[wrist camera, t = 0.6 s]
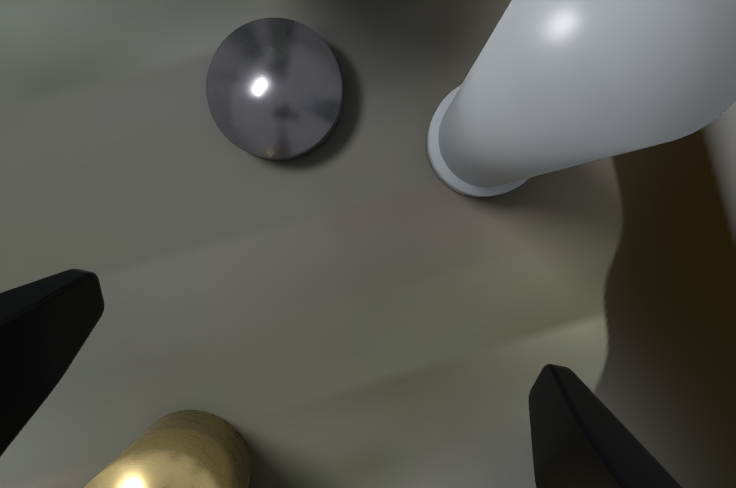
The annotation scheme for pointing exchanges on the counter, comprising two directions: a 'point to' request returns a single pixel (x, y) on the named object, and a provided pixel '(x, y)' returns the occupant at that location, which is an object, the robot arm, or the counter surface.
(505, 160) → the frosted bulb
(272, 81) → the dark grey metal disc
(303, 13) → the counter surface
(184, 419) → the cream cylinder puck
